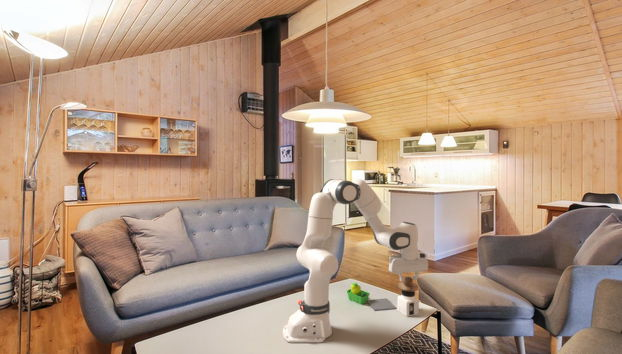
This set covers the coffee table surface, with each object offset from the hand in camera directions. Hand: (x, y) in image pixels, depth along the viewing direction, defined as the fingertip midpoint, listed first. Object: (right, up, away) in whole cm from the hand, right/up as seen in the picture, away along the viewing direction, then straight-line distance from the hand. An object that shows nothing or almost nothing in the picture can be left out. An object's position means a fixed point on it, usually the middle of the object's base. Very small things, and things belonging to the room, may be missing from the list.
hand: (408, 280), depth 168 cm
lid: (0, -4, 0) cm, 4 cm away
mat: (-12, -16, +10) cm, 22 cm away
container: (0, -17, +1) cm, 17 cm away
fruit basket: (-24, -16, +15) cm, 32 cm away
